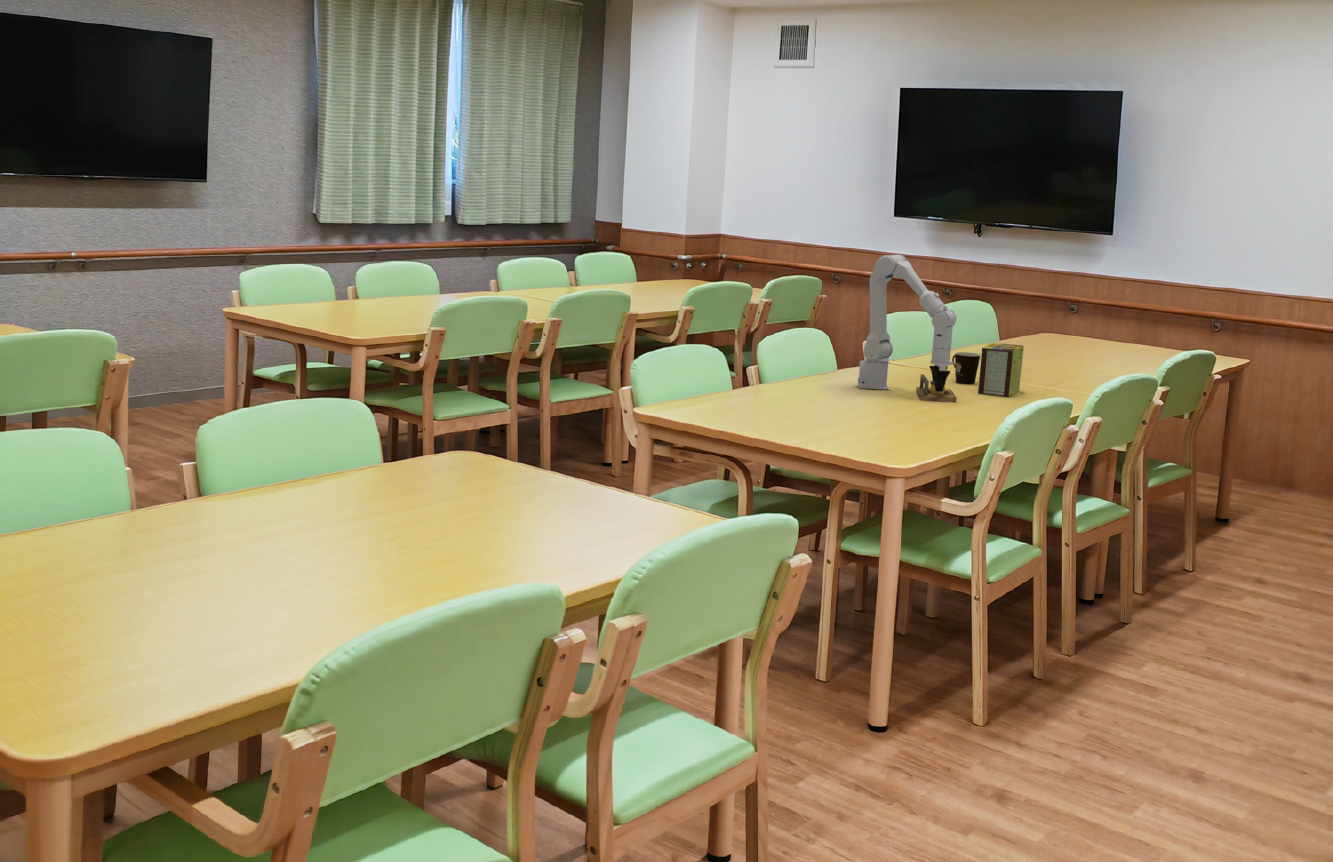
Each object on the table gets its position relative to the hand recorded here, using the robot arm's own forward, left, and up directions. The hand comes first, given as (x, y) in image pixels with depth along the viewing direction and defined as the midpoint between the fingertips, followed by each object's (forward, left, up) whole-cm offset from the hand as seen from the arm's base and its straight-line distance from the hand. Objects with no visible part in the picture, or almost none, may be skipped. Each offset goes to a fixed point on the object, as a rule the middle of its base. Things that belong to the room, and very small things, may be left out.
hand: (937, 389), depth 387 cm
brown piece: (0, 0, -2) cm, 2 cm away
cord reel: (0, 0, -2) cm, 3 cm away
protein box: (+22, +16, -3) cm, 28 cm away
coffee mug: (+13, +33, -3) cm, 36 cm away
